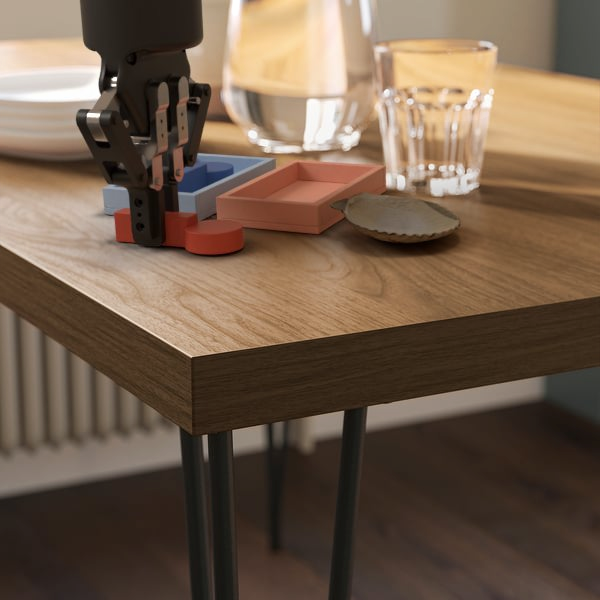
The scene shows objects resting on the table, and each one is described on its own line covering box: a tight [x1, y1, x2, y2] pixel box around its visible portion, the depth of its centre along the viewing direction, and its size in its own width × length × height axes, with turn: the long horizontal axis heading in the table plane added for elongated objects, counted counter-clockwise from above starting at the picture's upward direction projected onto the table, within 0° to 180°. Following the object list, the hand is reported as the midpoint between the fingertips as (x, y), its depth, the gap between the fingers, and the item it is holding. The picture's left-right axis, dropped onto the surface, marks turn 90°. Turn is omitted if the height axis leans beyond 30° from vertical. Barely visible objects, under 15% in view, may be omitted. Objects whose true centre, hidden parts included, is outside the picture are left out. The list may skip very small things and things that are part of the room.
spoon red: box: [113, 208, 245, 256], centre depth 77 cm, size 9×4×2 cm, turn 66°
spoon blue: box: [178, 162, 234, 193], centre depth 89 cm, size 9×4×2 cm, turn 156°
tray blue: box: [102, 152, 277, 221], centre depth 90 cm, size 13×8×2 cm, turn 156°
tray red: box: [216, 159, 387, 235], centre depth 86 cm, size 13×8×2 cm, turn 156°
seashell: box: [329, 192, 461, 245], centre depth 77 cm, size 8×3×8 cm
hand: (157, 240), depth 78 cm, fingers closed on spoon red, 1 cm apart
